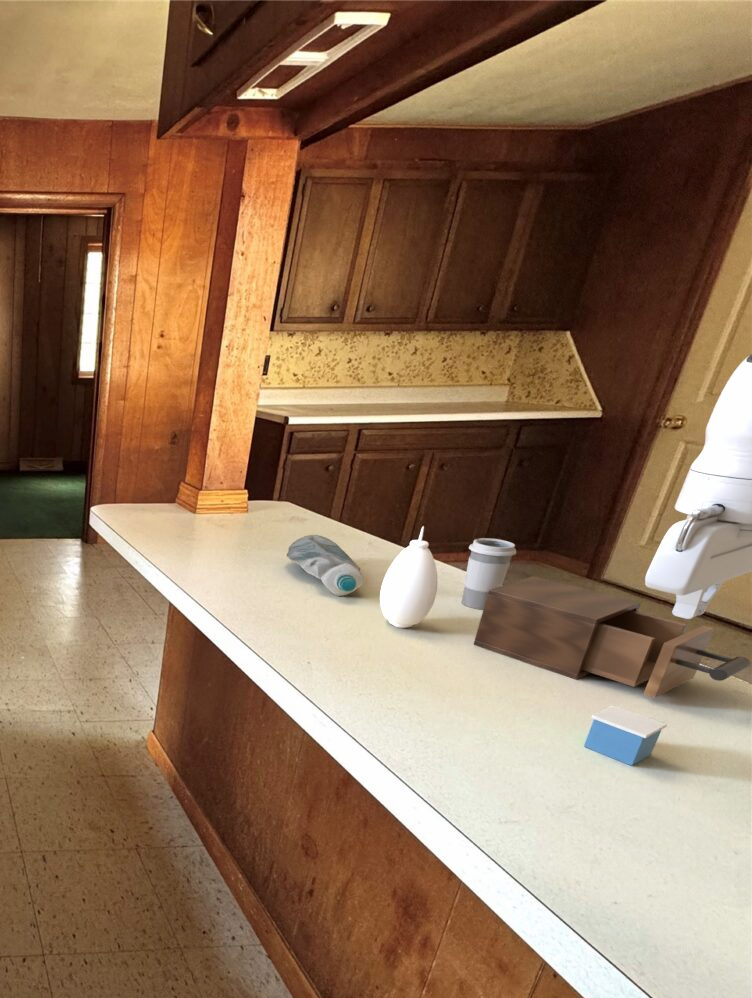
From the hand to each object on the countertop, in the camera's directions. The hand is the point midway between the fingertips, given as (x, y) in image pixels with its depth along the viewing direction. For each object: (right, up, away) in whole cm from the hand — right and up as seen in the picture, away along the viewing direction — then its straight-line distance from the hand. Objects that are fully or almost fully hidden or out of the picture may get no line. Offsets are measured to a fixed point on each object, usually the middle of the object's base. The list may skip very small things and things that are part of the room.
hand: (686, 615), depth 78 cm
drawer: (+12, -9, +17) cm, 22 cm away
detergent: (-10, +6, +59) cm, 60 cm away
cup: (+11, +1, +45) cm, 46 cm away
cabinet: (+7, -6, +26) cm, 28 cm away
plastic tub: (-6, -17, +2) cm, 18 cm away
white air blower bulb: (-9, -3, +37) cm, 38 cm away
